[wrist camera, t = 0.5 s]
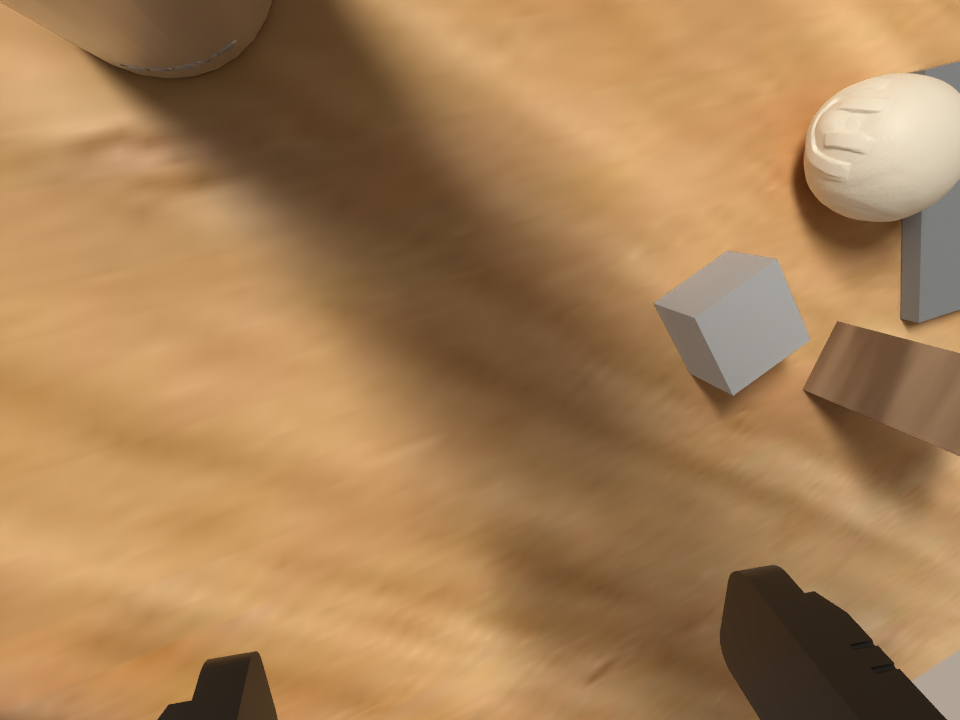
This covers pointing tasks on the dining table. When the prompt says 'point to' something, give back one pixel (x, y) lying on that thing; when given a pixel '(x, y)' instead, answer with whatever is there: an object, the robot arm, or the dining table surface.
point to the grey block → (733, 320)
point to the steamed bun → (885, 147)
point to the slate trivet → (933, 243)
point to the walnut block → (892, 383)
